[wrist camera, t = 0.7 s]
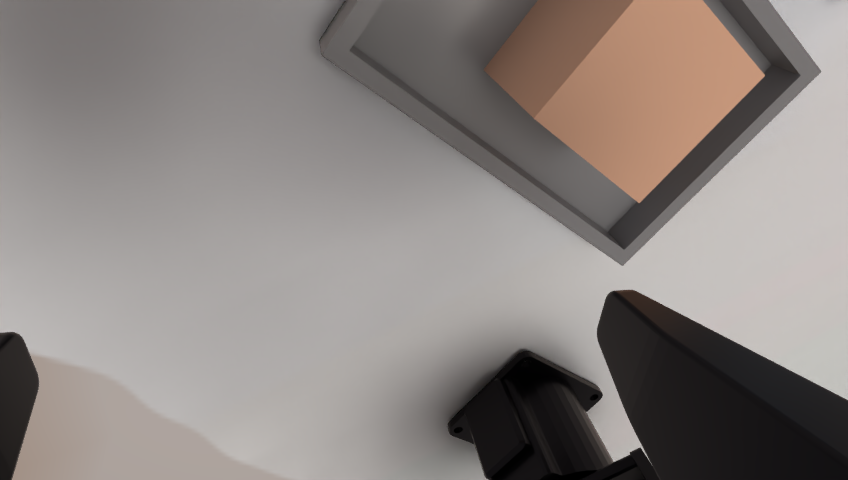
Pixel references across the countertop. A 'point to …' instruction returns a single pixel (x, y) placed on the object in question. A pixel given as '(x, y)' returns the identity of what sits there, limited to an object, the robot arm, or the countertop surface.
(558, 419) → the robot arm
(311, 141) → the countertop surface
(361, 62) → the bin
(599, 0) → the brown cube
